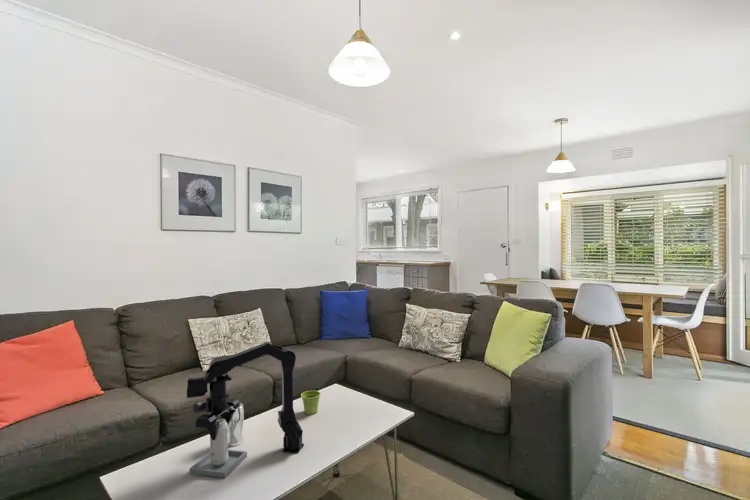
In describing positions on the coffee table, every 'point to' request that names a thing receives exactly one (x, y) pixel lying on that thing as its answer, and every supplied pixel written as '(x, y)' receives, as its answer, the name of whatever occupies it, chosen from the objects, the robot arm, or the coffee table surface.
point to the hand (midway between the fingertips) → (219, 435)
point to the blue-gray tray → (221, 471)
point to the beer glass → (236, 427)
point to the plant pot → (310, 401)
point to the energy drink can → (220, 444)
